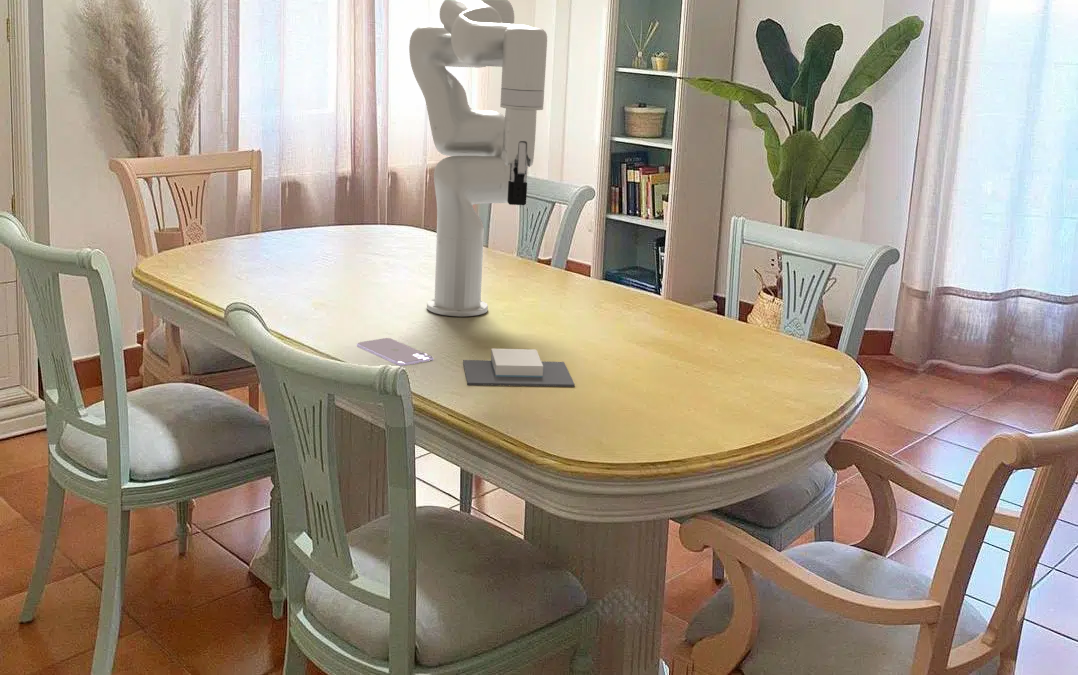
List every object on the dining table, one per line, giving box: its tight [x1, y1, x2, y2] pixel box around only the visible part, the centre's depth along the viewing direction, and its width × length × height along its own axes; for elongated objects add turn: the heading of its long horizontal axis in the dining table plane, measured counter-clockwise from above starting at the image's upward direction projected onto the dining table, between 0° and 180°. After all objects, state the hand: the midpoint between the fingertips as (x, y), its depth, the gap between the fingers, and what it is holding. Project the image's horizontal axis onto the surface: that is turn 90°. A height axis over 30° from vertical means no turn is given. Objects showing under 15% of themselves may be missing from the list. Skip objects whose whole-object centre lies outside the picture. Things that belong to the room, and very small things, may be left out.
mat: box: [462, 359, 575, 388], centre depth 202 cm, size 13×18×1 cm
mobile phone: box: [356, 337, 434, 366], centre depth 210 cm, size 8×1×15 cm
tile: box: [490, 348, 543, 377], centre depth 204 cm, size 2×8×10 cm
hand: (516, 203), depth 210 cm, fingers closed
